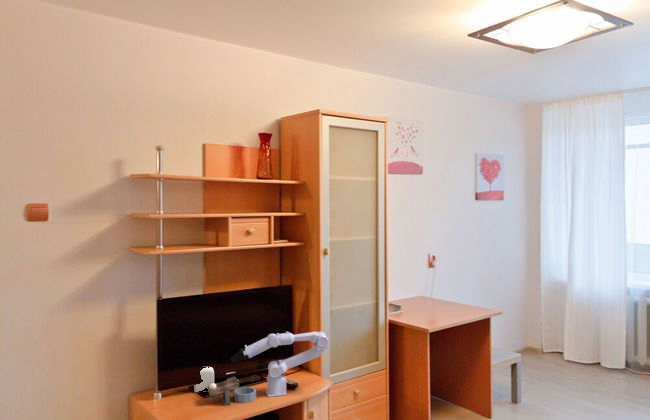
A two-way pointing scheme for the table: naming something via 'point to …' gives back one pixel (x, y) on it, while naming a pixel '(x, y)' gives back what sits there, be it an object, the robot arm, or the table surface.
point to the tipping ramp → (223, 387)
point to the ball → (212, 386)
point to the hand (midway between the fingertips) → (232, 360)
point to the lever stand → (226, 397)
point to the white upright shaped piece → (205, 379)
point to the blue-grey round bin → (245, 394)
